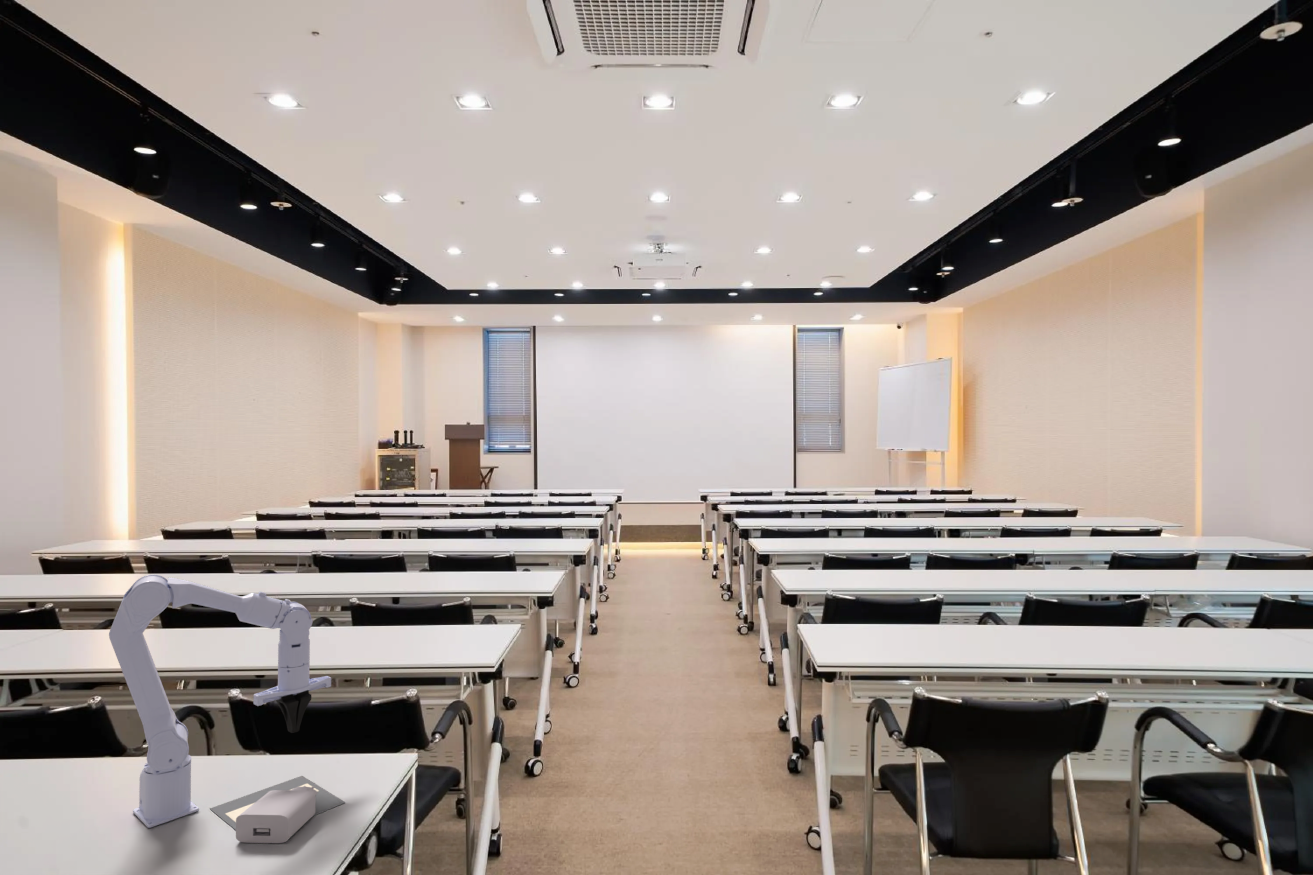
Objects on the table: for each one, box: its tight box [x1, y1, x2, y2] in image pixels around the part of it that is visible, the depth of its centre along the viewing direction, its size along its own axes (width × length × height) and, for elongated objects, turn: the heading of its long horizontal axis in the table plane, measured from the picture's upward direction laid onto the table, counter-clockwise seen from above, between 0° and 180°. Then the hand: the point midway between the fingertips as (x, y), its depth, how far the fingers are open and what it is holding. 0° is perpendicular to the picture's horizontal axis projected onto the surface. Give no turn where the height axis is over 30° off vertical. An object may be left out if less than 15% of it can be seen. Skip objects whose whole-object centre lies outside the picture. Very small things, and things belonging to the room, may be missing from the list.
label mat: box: [209, 775, 347, 831], centre depth 132 cm, size 18×17×1 cm
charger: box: [235, 786, 318, 844], centre depth 126 cm, size 5×9×15 cm
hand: (293, 730), depth 141 cm, fingers closed
